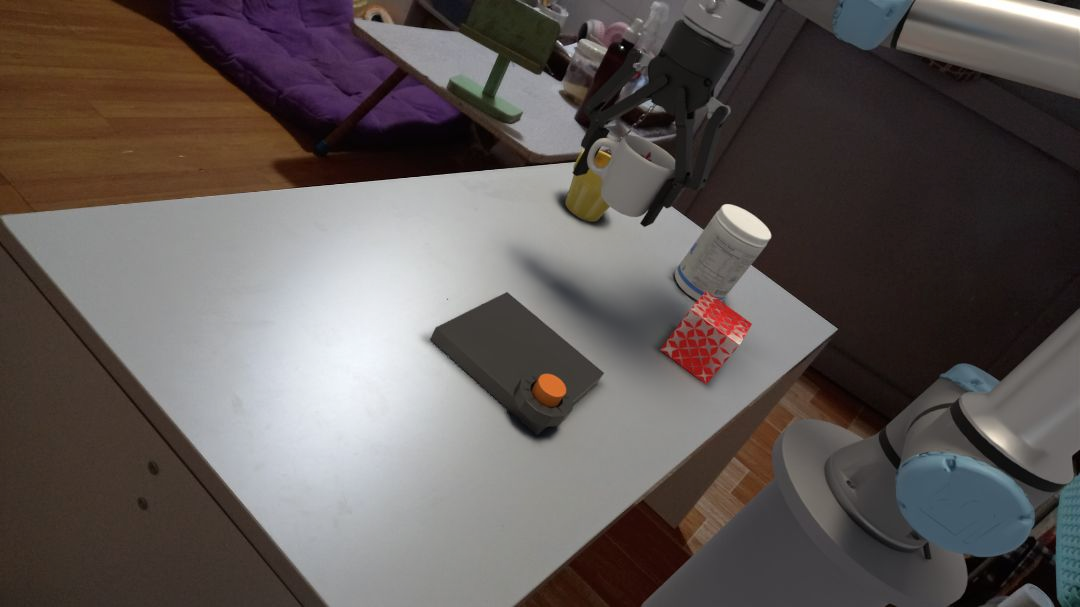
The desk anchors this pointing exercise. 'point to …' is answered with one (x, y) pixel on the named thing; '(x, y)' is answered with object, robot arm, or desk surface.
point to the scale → (516, 358)
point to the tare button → (549, 390)
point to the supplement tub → (722, 253)
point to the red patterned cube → (706, 337)
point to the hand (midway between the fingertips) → (612, 198)
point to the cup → (632, 173)
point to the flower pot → (588, 192)
